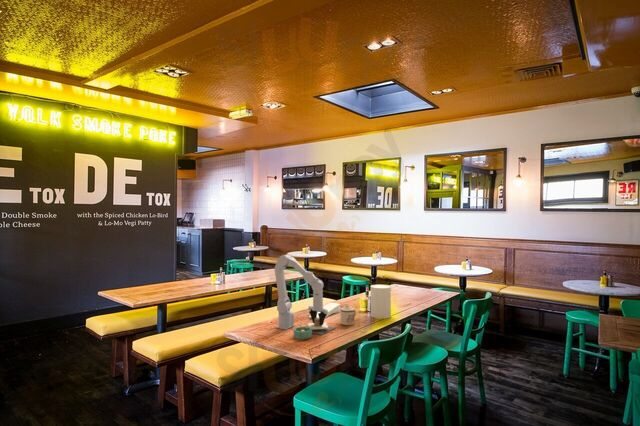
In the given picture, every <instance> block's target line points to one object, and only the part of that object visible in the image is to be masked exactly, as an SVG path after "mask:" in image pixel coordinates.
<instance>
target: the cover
mask: <svg viewBox="0 0 640 426" xmlns="http://www.w3.org/2000/svg"><path fill="white" fill-rule="evenodd" d="M307 325H308V326H307V327H310V328H311V329H312V330H313V329H329V327H330V326H328V324H327V322H325V321H324V323H323V325H320V319H319V318H314V323H313V322H309V323H307Z"/></svg>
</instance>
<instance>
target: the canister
mask: <svg viewBox="0 0 640 426" xmlns="http://www.w3.org/2000/svg"><path fill="white" fill-rule="evenodd" d="M391 286H392V285H389V284H380V283H379V284H371V285H370V317H372V318H374V319H380V320H381V319H389V318H391V317H392V308H391V307H392V299H391V298H392V293H391V291H392V287H391Z"/></svg>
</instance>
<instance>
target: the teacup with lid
mask: <svg viewBox="0 0 640 426" xmlns="http://www.w3.org/2000/svg"><path fill="white" fill-rule="evenodd" d="M356 315H357V312H356V310H355V308H354V307H352V306H350V304H346V305H344V307H341V309H340V324H341V325H345V326H352V325H354V324H355V318H356Z"/></svg>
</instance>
